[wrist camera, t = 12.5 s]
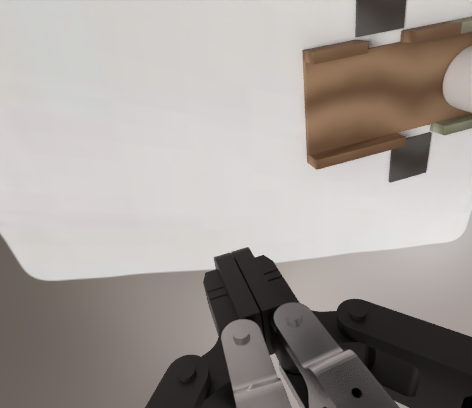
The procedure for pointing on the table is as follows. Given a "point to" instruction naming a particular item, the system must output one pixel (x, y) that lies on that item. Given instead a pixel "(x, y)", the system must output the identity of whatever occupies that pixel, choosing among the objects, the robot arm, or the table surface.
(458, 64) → the pill bottle
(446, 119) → the lane
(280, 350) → the robot arm
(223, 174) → the table surface
